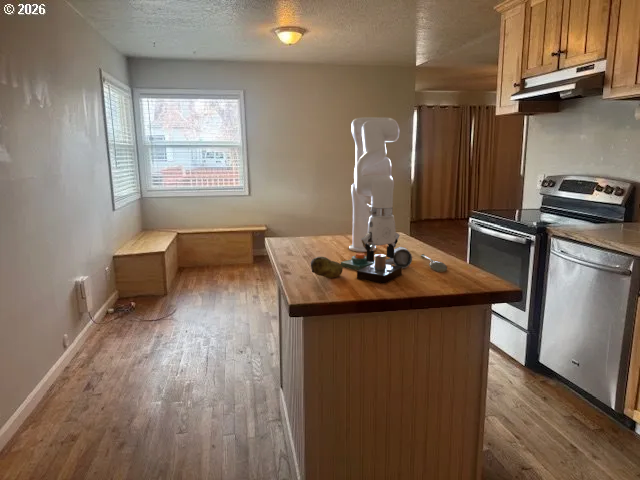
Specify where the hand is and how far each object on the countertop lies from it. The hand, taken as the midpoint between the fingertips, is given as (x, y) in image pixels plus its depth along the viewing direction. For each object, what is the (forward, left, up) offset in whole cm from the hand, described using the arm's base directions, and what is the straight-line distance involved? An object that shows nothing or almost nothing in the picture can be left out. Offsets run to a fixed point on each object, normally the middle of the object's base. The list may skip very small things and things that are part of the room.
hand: (380, 259), depth 158 cm
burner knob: (0, 0, -4) cm, 4 cm away
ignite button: (-4, -16, -4) cm, 17 cm away
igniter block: (-4, -16, -7) cm, 18 cm away
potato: (+16, -11, -7) cm, 20 cm away
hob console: (0, 0, -7) cm, 7 cm away
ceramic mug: (-16, -7, -7) cm, 19 cm away
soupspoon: (-29, -1, -7) cm, 30 cm away
